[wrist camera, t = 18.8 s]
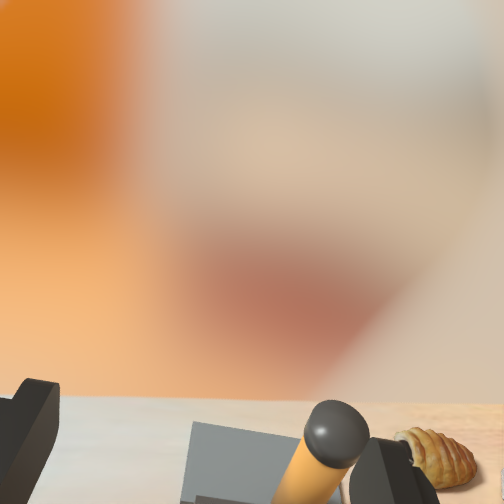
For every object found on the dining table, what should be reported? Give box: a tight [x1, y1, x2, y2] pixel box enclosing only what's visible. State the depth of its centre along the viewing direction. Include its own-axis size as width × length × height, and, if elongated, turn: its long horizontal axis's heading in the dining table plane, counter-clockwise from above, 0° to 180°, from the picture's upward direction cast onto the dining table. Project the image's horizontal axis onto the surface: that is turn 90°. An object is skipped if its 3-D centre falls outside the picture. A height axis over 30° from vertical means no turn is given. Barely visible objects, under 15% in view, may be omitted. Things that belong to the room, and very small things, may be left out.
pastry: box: [394, 427, 477, 489], centre depth 52 cm, size 9×7×4 cm
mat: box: [180, 421, 342, 504], centre depth 46 cm, size 16×9×1 cm, turn 89°
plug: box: [271, 400, 370, 504], centre depth 39 cm, size 5×5×14 cm
